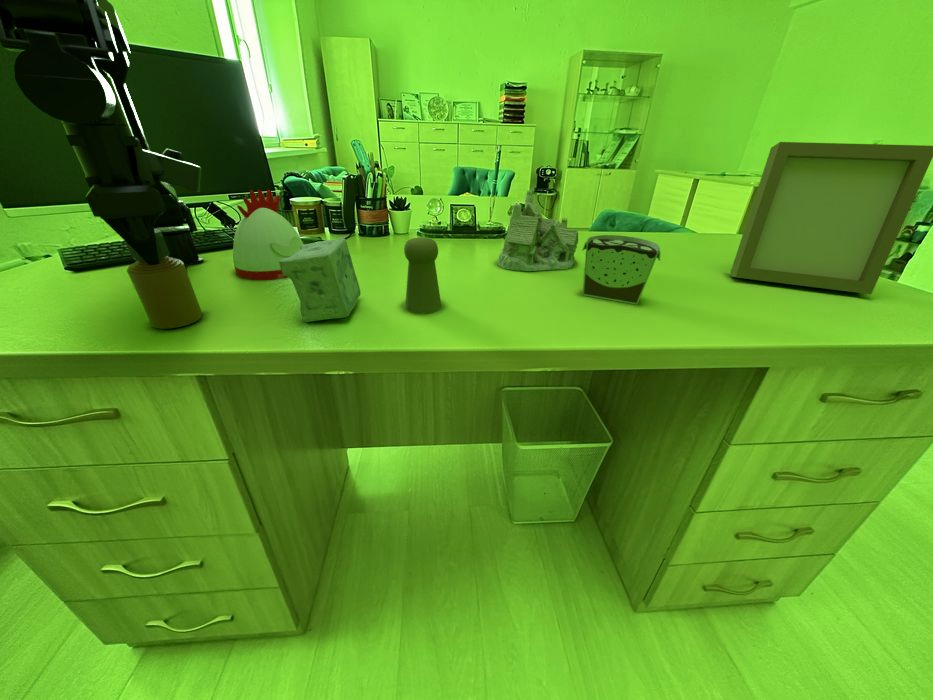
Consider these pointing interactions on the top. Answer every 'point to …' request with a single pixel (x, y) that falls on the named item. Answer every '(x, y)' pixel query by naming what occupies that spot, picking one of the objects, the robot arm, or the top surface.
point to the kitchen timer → (263, 239)
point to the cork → (422, 276)
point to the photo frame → (829, 213)
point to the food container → (618, 267)
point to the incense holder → (323, 279)
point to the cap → (161, 247)
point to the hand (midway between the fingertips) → (153, 260)
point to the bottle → (165, 292)
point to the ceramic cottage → (537, 241)
